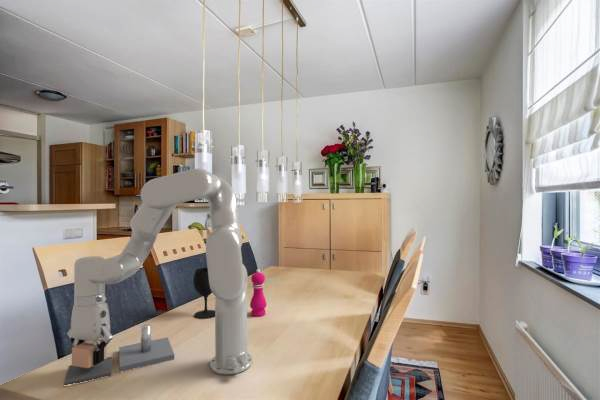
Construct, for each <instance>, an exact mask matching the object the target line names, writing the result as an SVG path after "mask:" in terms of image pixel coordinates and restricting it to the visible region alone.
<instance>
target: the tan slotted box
mask: <svg viewBox="0 0 600 400" xmlns="http://www.w3.org/2000/svg"><path fill="white" fill-rule="evenodd" d="M98 344H100V340H99V341H98ZM107 345H108V344H107ZM107 345H106V347H105V348H104V359H106V358H107V356H108V355H107V354H108V353H107V350H108V349H107V348H108V346H107ZM93 351H95V348H94V345H93V341H87V340H85V342H84V343H81V344H79V345H77V346H75V347H73V346H72V347H71V365H72V366H78V367H84V368H90V367H92V366H93Z"/></svg>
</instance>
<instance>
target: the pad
mask: <svg viewBox="0 0 600 400" xmlns="http://www.w3.org/2000/svg"><path fill="white" fill-rule="evenodd" d="M112 369H113V356H108V357H107V358H106V359H104V361H102V362H100V363H99V364H97V365H93V366H92V367H90V368H84V367H78V366H72V364H70V365H68V367H67V371H66V373H65V374H66V375H65V378H64V381H63V386H64V385H68V384H73V383H80V382H84V381H88V382H90V381H89V380H92V379H97V378H101V377H105V376H109V377H111V376H110V375H112V372H113V370H112ZM112 376H113V375H112ZM105 378H106V377H105ZM101 379H102V378H101ZM97 380H98V379H97ZM84 383H85V382H84ZM80 384H81V383H80Z"/></svg>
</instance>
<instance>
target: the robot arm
mask: <svg viewBox="0 0 600 400" xmlns="http://www.w3.org/2000/svg"><path fill="white" fill-rule="evenodd" d="M140 199H141V202H142V203H141V204H140V206H139V208H138V209H137V210H136V212H135V213H134V215H133V216H132V217H131V219H130V222H129V225H130V228H131V234H130V235H131V236H130V238H129V240H128V242H127V243H126V245H125V247H124V248H123V249H122V251H121V253H120V254H117V255H114V256H112V257H107V258H104V257H103V256H92V255H91V256H84V257H79V258H78V259H76V260H75V261H74V267H73V268H74V269H73V272H74V279H73V280H74V282H73V284H74V285H73V287H74V288H73V289H74V291H73V293H74V295H73V306H72V311H71V320H70V329H69V330H68V332H67V336H68V337H69V339H70V342H71V343H72V348H73V347H75V346H77V345H79V344H81V343H84V342H86V341H93V345H94V348H95V351H93V365H97V364H99V363H100V362H102V361H104V348H105V347H106V345H108V344H109V343H110V342H111V341H112V340H113V335H112V333H111V320H110V311H109V306H108V305H109V304H108V303H107V302H106V301H107V297H106V285H115V284H118V283H120V282H122V281H124V280H126V279H127V278H130V277H132V276H133V275H135V274H136V273H137V272H138V271H139V270H140V268H141V267H142V266H143V264H144V263H145V261H146V259H147V258H148V257H149V254H150V253H151V251H152V249H153V248H154V244H155V242H156V241H157V238H158V234H159V233H160V232H161V230H162V229H163V227H164V225H165V224H166V222H167V221H168V219H169V218H170V216H171V215H172V213H173V212H174V210H175V209H176V207H177V205H180V204H183V203H186V202H190V201H196V200H199V199H200V200H206V201H207V203H208V206H209V217H210V218H209V219H210V225H211V226H210V227H211V228H210V229H211V232H210V233H209V234H208V236H207V238H206V242H205V258H206V266H207V267H206V268H208V277H209V284H210V289H211V291H212V293H211V294H213V295H214V297H215V303H214V308H215V309H214V310H215V317H214V318H215V319H214V320H215V321H214V323H215V324H214V325H215V327H214V330H215V331H214V333H215V334H214V336H215V338H214V340H215V341H214V342H215V343H214V344H215V346H214V349H215V351H214V352H215V355H214V357H213V358H212V359H211V360H210V363H209V368H210V370H211V371H212V372H213V373H216V374H220V375H227V376H228V375H229V376H230V375H236V374H239V373H241V372H244V371H246V370H248V369H249V368H250V367H251V366H252V364H253V356H252V355H251V354H250V353H248V281H249V280H248V278H249V277H248V276H249V275H248V271H247V268H246V265H244V263H243V256H242V245H243V236H242V232H241V231H242V230H241V225H240V216H239V210H238V201H237V197H236V194H235V191H234V189H233V188H232V186H231V185H230V183H228V182H227V181H226V180H225V179H223V178H222V177H220V176H218V175H216V174H213V173H211V172H209V171H207V170H205V169H204V168H203V169H202V168H191V169H186V170H183V171H179V172H175V173H173V174H168V175H164V176H163V175H162V176H159V177H156V178H153V179H149V180H148V181H147V182H146V183H144V185H143V186H142V188H141V190H140ZM99 340H100V344H98V341H99Z"/></svg>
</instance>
